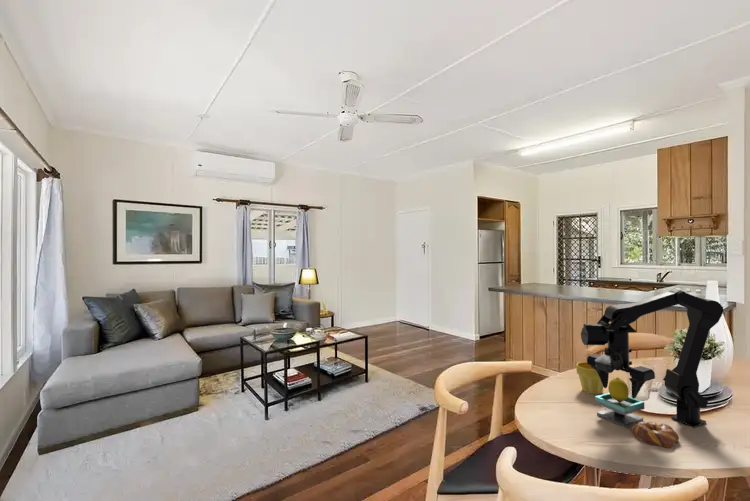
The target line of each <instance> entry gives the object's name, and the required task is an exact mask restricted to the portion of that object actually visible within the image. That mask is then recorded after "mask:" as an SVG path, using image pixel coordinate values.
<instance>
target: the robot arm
mask: <svg viewBox="0 0 750 501" xmlns="http://www.w3.org/2000/svg"><path fill="white" fill-rule="evenodd" d="M677 305H680V306H681V307H684V308H686V315H687V320H688V323H689V324H688V328H687V331H686V335H685V338H684V342H683V345H682V348H681V352H680V353H679V354H680V355H679V358H678V361H677V364H676V366H675V367H674V368H673V369H669V368H667V369H666V370H665V376H664V377H663V379H662V380H663V381H664V387H665V388H666V389H667V390H668V391H669V393H670V395H671V397H674V398H675V399H676V406H675V408H676V414H674V415H672V416H671V417H670V418H671V419H672V420H674V421H677V422H680V423H682V424H685V425H686V426H687V425H688V426H690V427H693V428H696V427H699V426H702V425H704V424H707V421H706V420H705V419H701V408H705V409H706V408H707V406H708V404H709V401H708V400H707V399H706V398H705V397H704V396H703V395H701V393H699V392H700V391H699V389H700V383H699V378H698V369H699V366H700V362H701V360H702V355H703V354H704V349H705V346H706V343H707V339H708V336H709V332H710V330H711V329H712V328H713V327H714V326H716V325H717V324H718V323H719V321H720V319H721V318H722V316H723V314H724V306H722V304H721V303H720V302H718V301H716V300H713V299H708V298H704V297H698V296H694V295H692V294H690V293H688V292H685V291H684V290H679V289H670V290H669V291H667V292H663V293H660V294H657V295H653V296H651V297H648V298H645V299H642V300H639V301H636V302H632V303H618V304H613V305H609V306H607V307H606V308H605V311H604V314H603V315H602V316H601V317H600V319H598V321H597V322H596V323H595V324H593V323H591V324H590V323H584V324H583V327H582V328H581V332H580V339H581V342H582V344H583V345H585V346H605V345H606V344H607V347H604V352H603V354H598V353H595V354H590V355H588V356H587V357H586V362H587V364H589V365H591V367H592V368H594V369H595V370H596V371H597V373H598V375H599V377H600V379H601V382H602V384H603V389H607V388H608V387H609V375H610V374H611V373H613V372H614V371H618V372H619V371H622V372H626V373H628V374H629V376H630V377H629V378H628V380H629V381H630V384H631V397H632V398H633V399H637V396H638V395H639V393H640V390H641V389H642V387H643V386H644V384H645V383H646V382H649V381H651V380H655V379H656V374H655V371H654V370H653V369H651V368H649V367H645V366H641V365H639V366H636V367H633V366H631V365H633V362H632V361H630V353H633V352H632V351H633V350H632V348H630V337H629V336H630V335H629V333H637V330H636V329H635V328H633V326H632V325H631V324H633V323H634V322H637V320H638V319H639V318H640V317H643V316H646V315H648V314H651V313H655V312H658V311H661V310H664V309H667V308H671V307H673V306H677Z"/></svg>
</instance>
